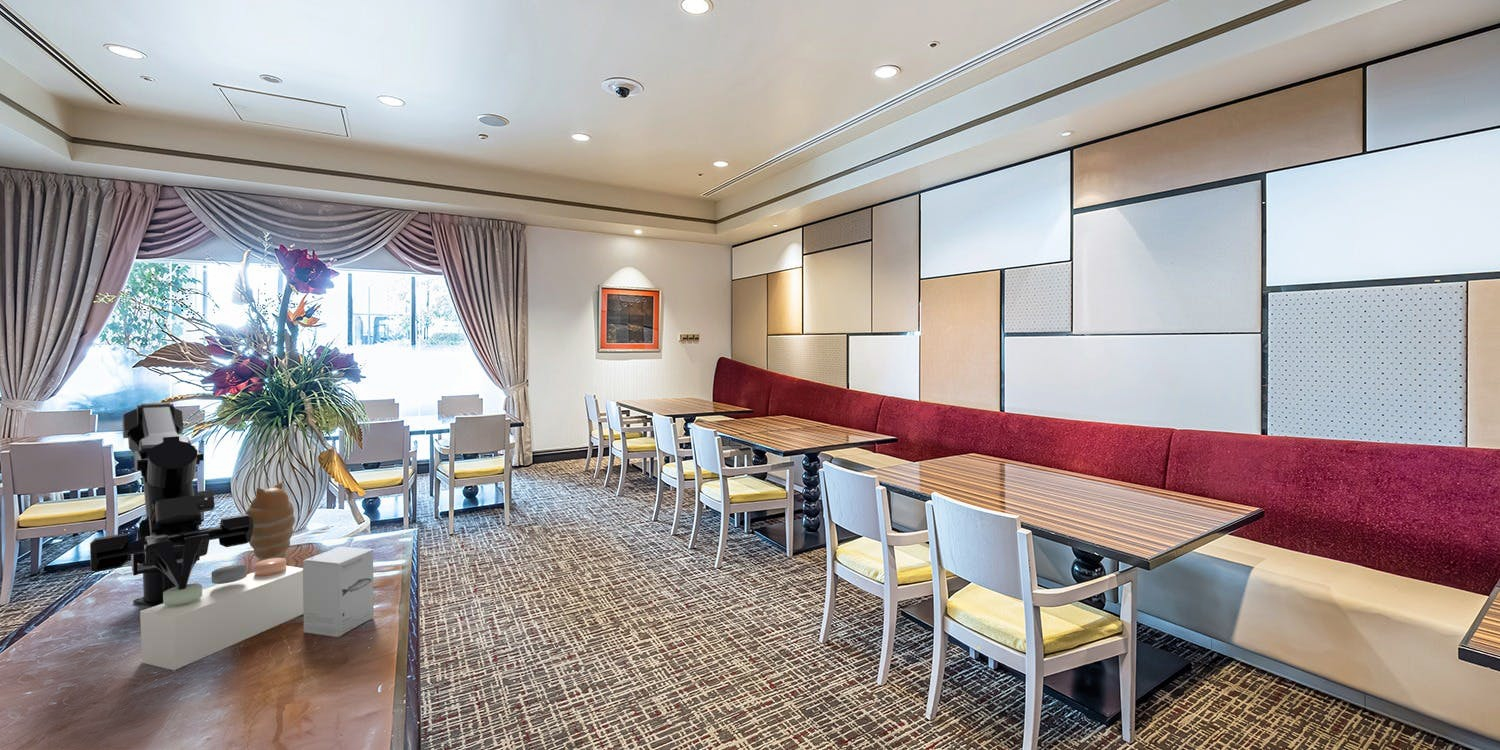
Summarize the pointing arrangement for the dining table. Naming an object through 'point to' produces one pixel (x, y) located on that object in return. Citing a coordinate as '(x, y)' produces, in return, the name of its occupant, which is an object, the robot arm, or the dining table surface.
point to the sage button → (182, 594)
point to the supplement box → (338, 591)
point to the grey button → (229, 574)
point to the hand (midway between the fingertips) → (182, 587)
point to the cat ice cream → (271, 523)
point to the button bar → (219, 617)
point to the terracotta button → (270, 566)
